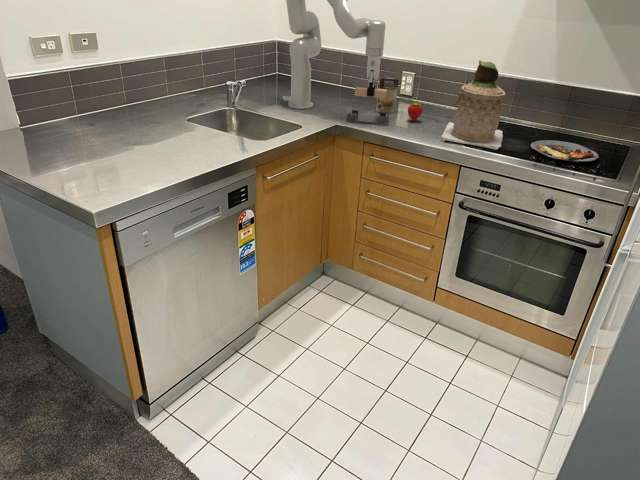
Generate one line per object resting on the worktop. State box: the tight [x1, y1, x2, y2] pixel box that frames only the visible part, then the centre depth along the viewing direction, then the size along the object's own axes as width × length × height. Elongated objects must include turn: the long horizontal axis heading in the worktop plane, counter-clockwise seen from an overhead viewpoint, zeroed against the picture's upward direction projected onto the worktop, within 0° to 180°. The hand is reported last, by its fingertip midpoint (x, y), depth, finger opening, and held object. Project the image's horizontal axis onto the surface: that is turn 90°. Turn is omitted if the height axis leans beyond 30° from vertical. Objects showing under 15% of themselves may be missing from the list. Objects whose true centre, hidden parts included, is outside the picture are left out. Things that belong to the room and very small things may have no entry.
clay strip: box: [354, 86, 387, 99], centre depth 219 cm, size 4×14×3 cm, turn 80°
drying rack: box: [345, 109, 390, 127], centre depth 224 cm, size 19×10×4 cm, turn 80°
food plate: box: [530, 139, 600, 163], centre depth 195 cm, size 25×23×4 cm
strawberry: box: [407, 99, 424, 122], centre depth 225 cm, size 6×8×10 cm
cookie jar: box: [441, 59, 507, 151], centre depth 202 cm, size 25×25×32 cm
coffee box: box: [375, 75, 400, 114], centre depth 237 cm, size 9×6×16 cm
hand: (370, 94), depth 219 cm, fingers closed on clay strip, 4 cm apart
